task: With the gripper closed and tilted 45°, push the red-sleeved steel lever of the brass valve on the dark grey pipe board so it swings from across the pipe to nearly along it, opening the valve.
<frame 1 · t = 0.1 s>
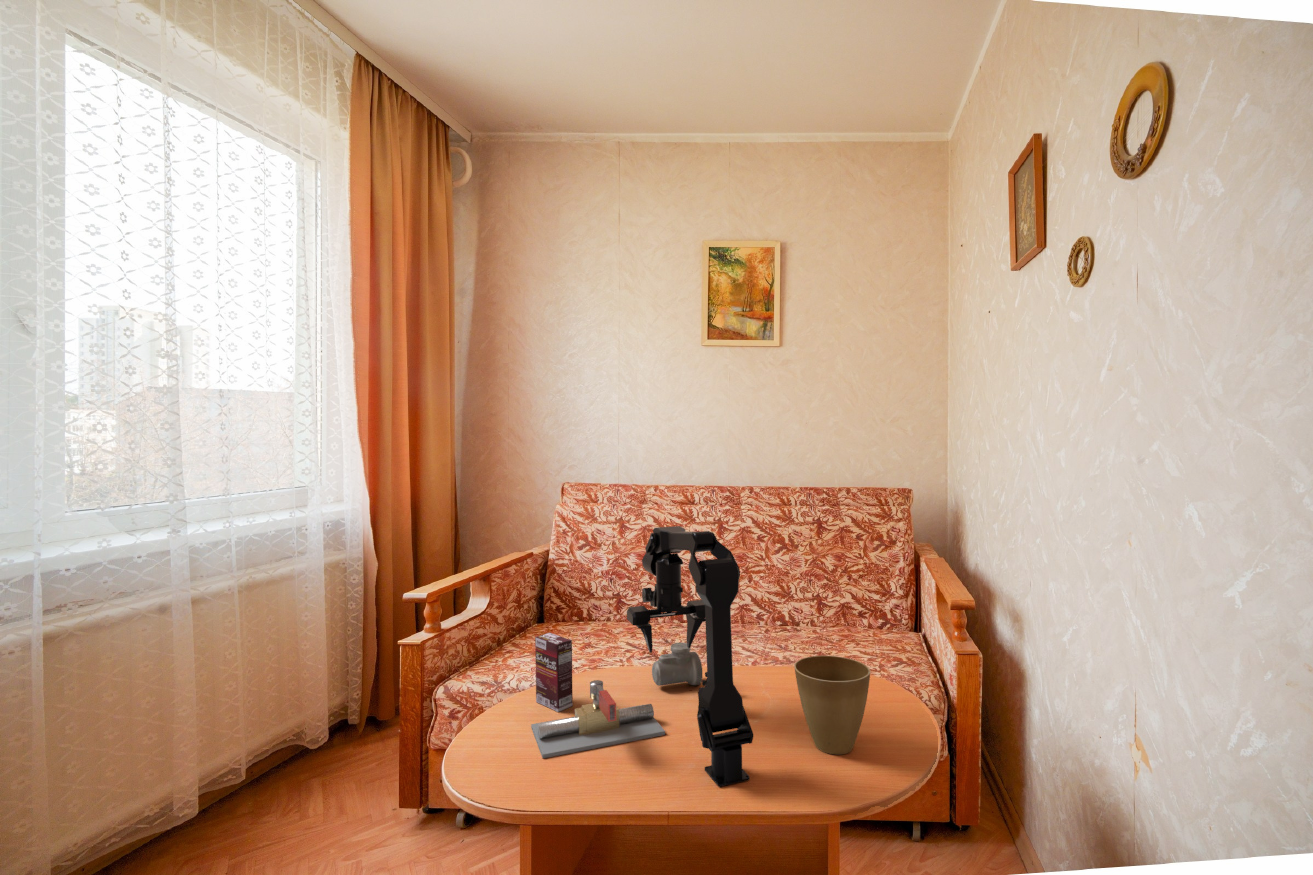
hand: (669, 649, 143), 15 cm above the table, tool pointing down, fingers open, 9 cm apart
valve body: (596, 712, 134), on the mounting board, point 4 cm above the table
valve lever: (603, 699, 129), point 9 cm above the table, hinge at 0.0°
plant pot: (832, 746, 127), on the table
pipe fitting: (676, 687, 158), on the table
valve: (718, 706, 147), on the table
supplement box: (554, 705, 148), on the table
mounting board: (597, 731, 134), on the table
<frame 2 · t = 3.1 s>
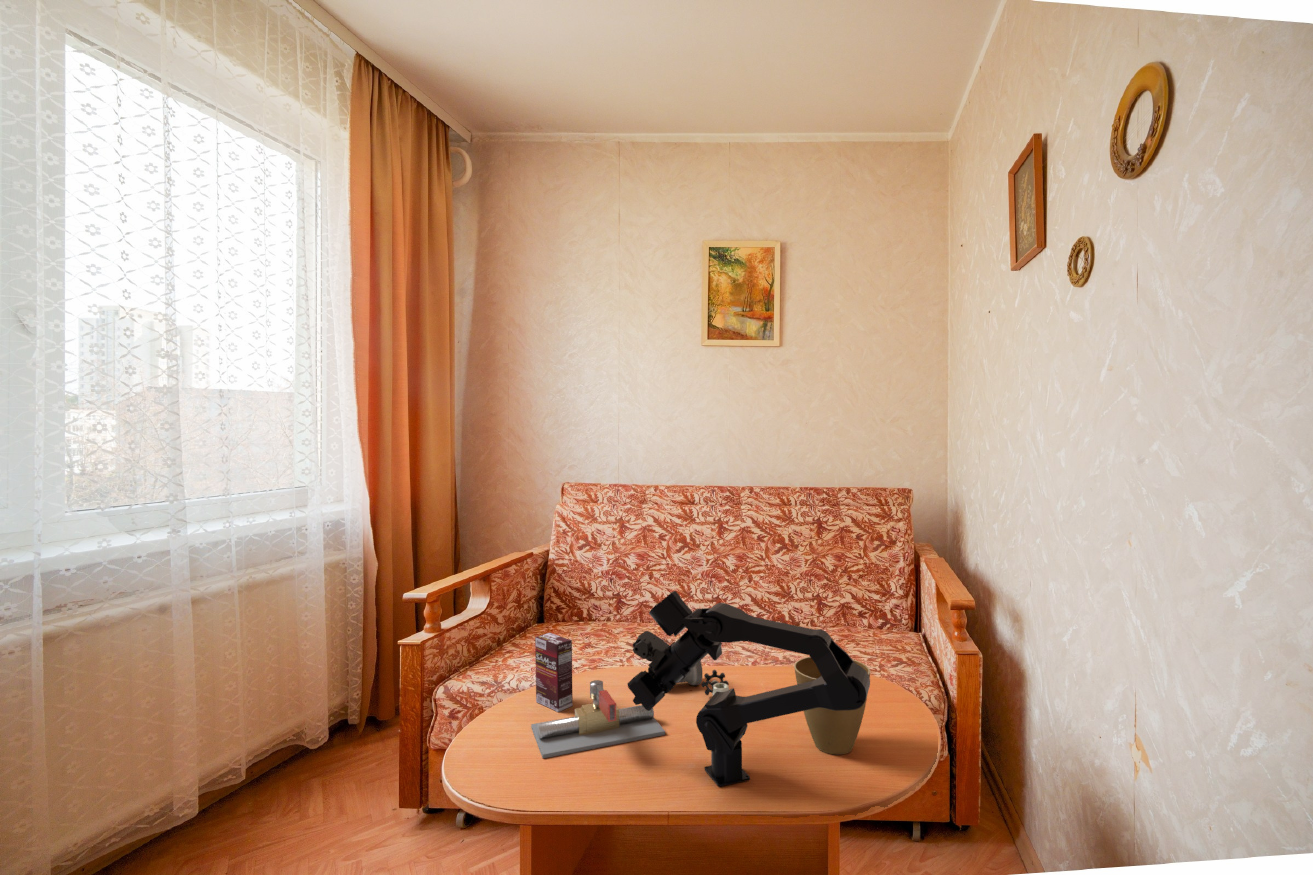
hand: (635, 702, 124), 11 cm above the table, tool tilted 45°, fingers closed
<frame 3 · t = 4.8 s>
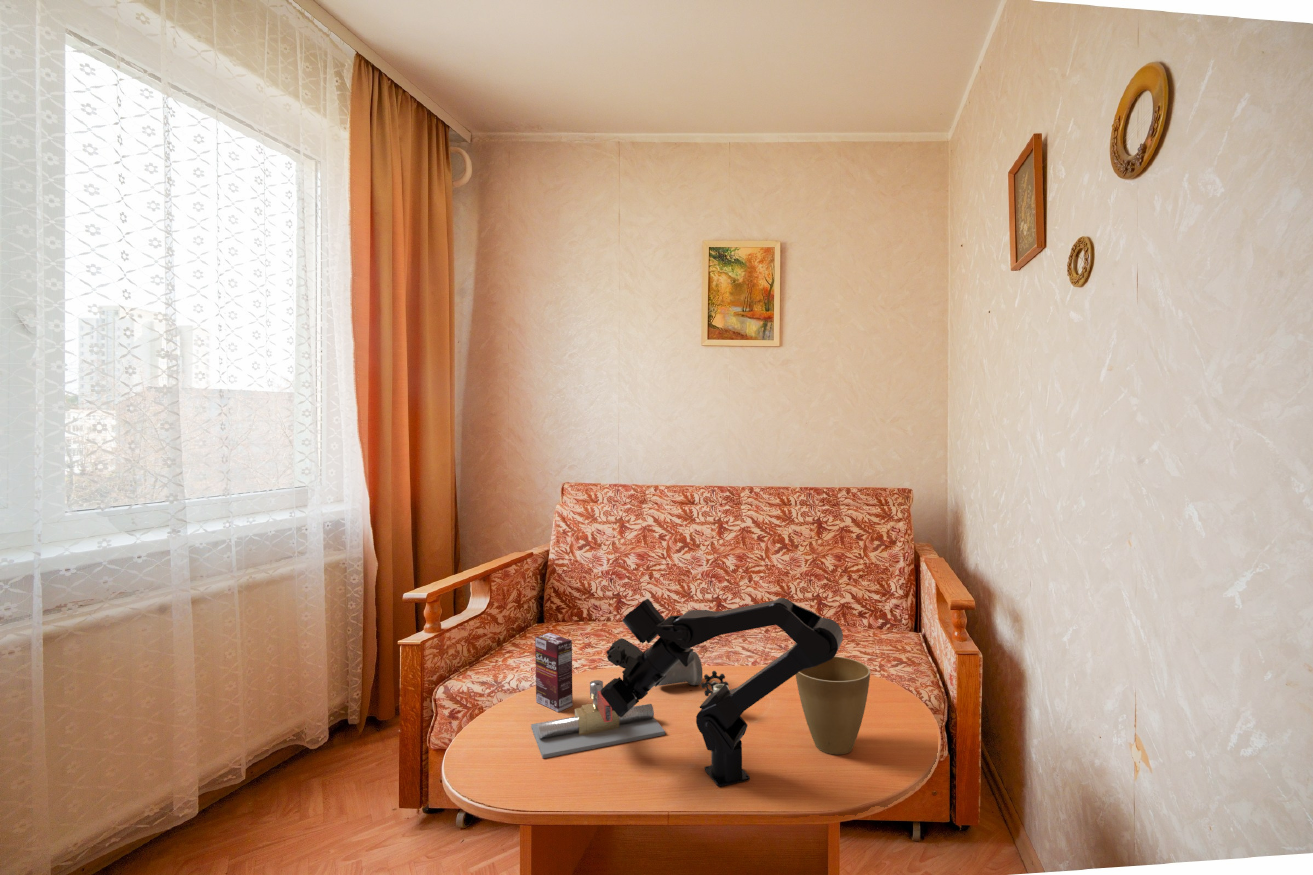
hand: (610, 708, 127), 8 cm above the table, tool tilted 45°, fingers closed
valve lever: (601, 699, 129), point 9 cm above the table, hinge at 4.1°, touching gripper
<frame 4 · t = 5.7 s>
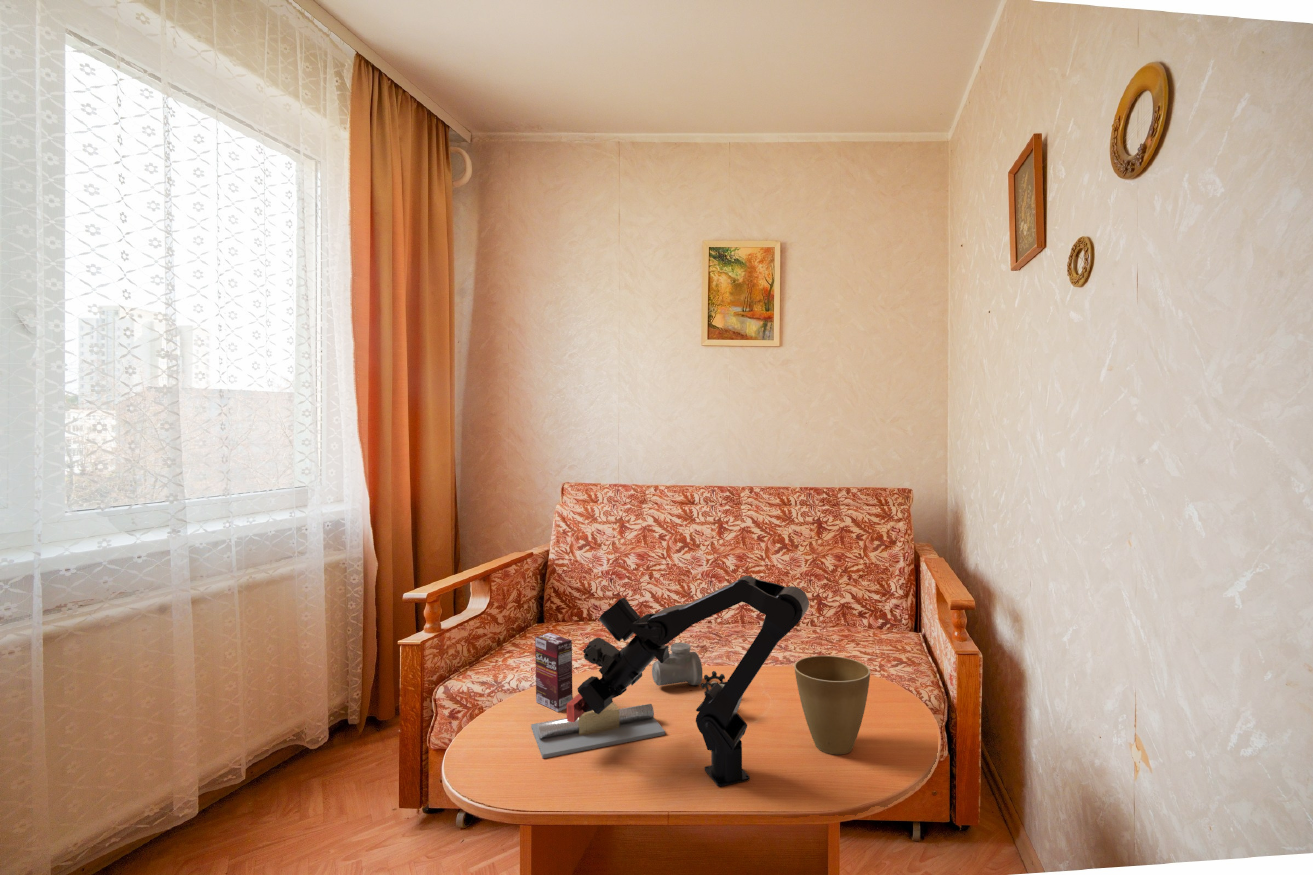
hand: (587, 707, 128), 8 cm above the table, tool tilted 45°, fingers closed on valve lever, 2 cm apart
valve lever: (585, 699, 129), point 9 cm above the table, hinge at 40.5°, touching gripper
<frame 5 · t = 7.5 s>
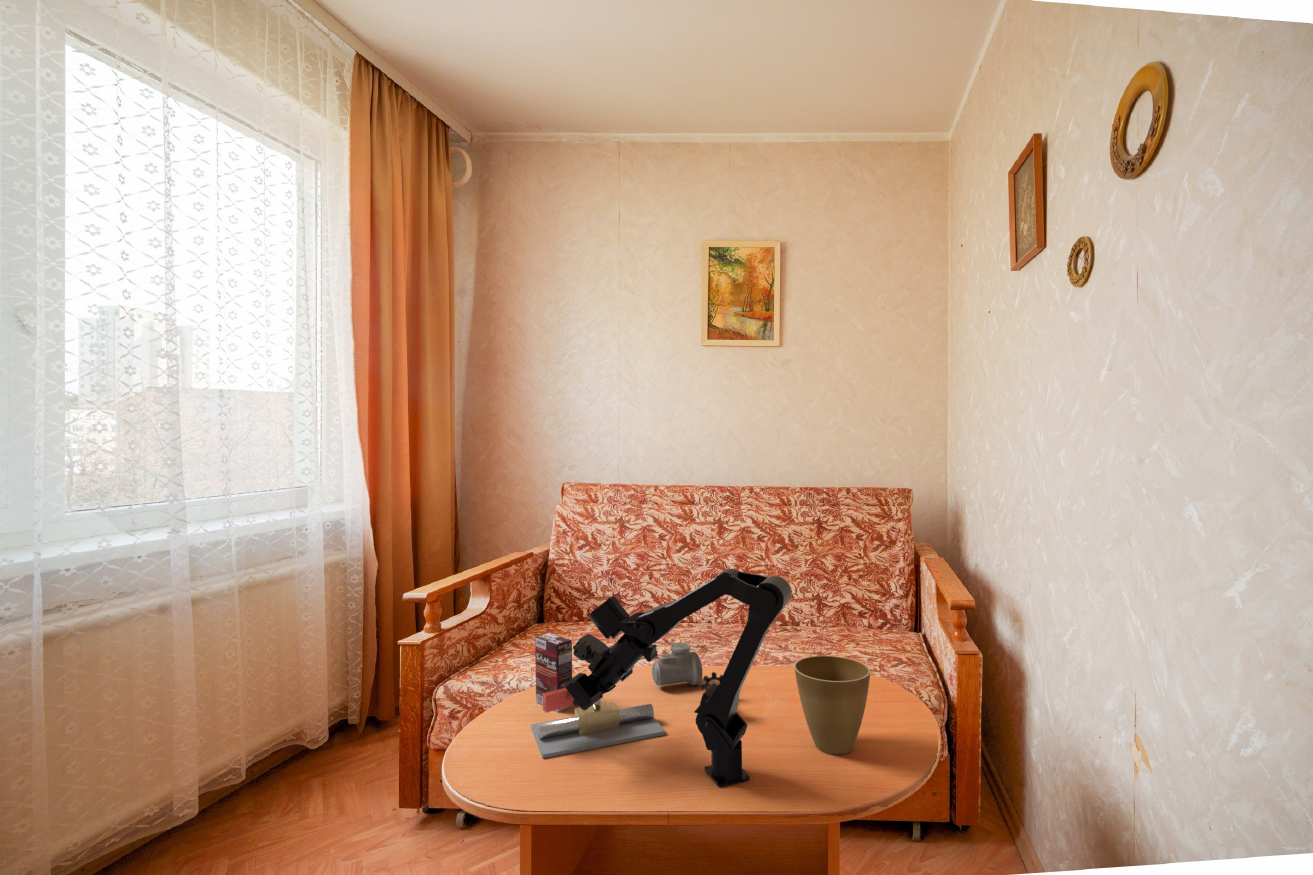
hand: (577, 702, 130), 8 cm above the table, tool tilted 45°, fingers closed
valve lever: (574, 695, 132), point 9 cm above the table, hinge at 78.2°
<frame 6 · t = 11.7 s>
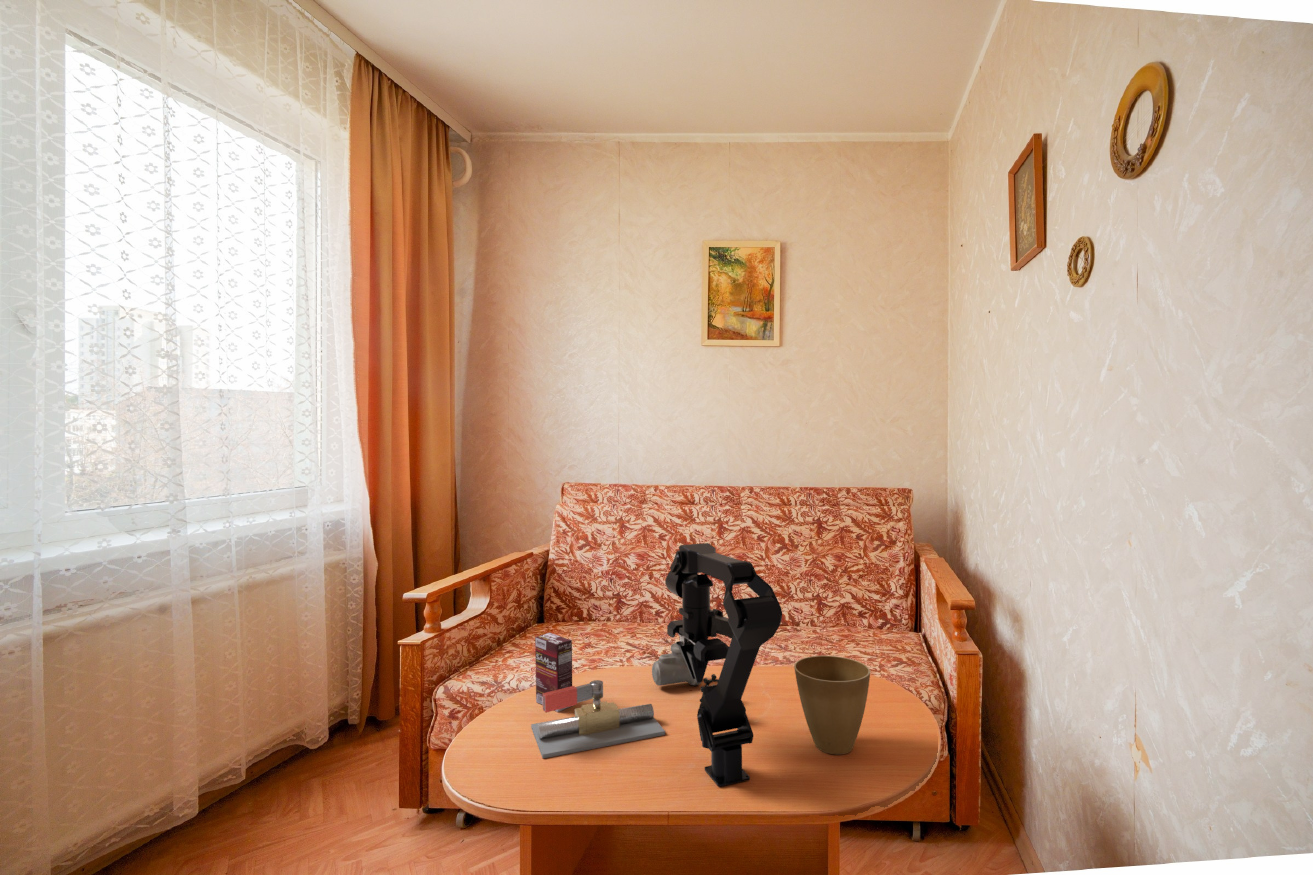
hand: (697, 680, 128), 13 cm above the table, tool pointing down, fingers closed
valve: (719, 713, 143), on the table
everything else where it was.
at the end: valve lever at +78° (first picture: +0°) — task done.
